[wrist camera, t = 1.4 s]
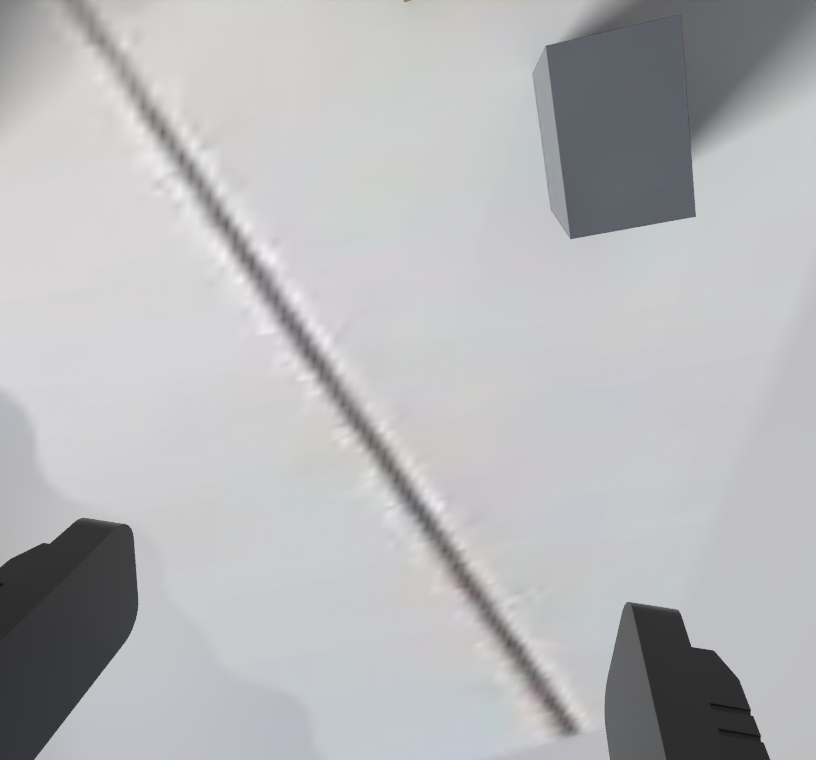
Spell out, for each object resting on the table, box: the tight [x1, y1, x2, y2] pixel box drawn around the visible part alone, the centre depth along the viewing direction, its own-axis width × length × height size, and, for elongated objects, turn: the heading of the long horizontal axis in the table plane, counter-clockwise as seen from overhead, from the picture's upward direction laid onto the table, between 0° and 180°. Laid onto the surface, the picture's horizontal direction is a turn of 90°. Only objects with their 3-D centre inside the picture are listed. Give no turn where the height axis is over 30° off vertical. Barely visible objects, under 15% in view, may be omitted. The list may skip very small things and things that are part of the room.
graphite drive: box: [533, 15, 696, 239], centre depth 27 cm, size 4×6×10 cm
